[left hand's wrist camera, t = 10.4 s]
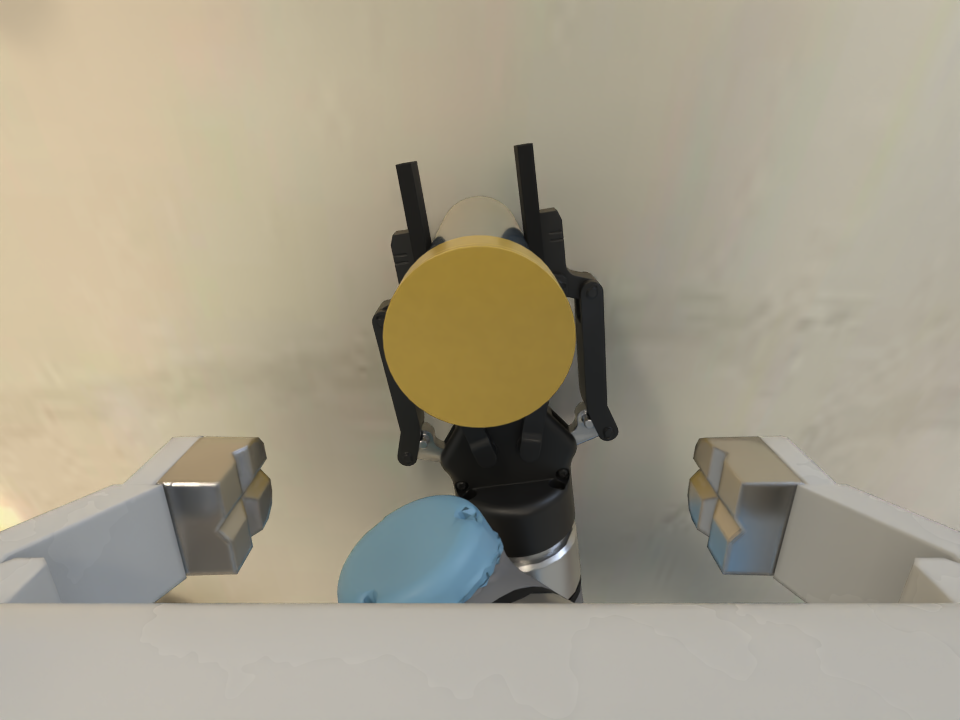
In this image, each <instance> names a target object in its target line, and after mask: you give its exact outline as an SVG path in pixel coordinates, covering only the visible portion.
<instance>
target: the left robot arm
mask: <svg viewBox="0 0 960 720" xmlns="http://www.w3.org/2000/svg"><path fill="white" fill-rule="evenodd" d="M266 459H267V457H266V452H265V448H264V443H263V442H262V441H261V440H260V439H259V437H210V436H207V437H204V436H180V437H172V438H171V439H170V440H169V441H168V442H167V443H166V444H165V445H164V446H163V447H162V448H161V449H160V450H159V451H157V452H156V453H155V454H154V455H153V456H152V457H151V458H150V459H149V460H148V461H147V462H146V463H145V464H144V465H143V466H141V467H140V468H139V469H138V470H137V471H136V472H135V473H134V474H133V475H132V476H131V477H130V478H129V479H128V480H126V481H125V482H124V483H123V484H122V485H111V486H108V487H106V488H104V489H101V490H99V491H96V492H94V493H92V494H89V495H87V496H84V497H82V498H80V499H77V500H75V501H72V502H70V503H68V504H65V505H63V506H60V507H58V508H56V509H53V510H51V511H48V512H46V513H44V514H41V515H39V516H36V517H34V518H32V519H29V520H27V521H24V522H22V523H20V524H17V525H15V526H12V527H10V528H8V529H5V530H3V531H0V720H960V532H959V531H957V530H954V529H952V528H950V527H947V526H945V525H942V524H940V523H938V522H935V521H933V520H931V519H928V518H926V517H923V516H921V515H919V514H916V513H914V512H911V511H909V510H907V509H904V508H902V507H899V506H897V505H895V504H892V503H890V502H887V501H885V500H883V499H880V498H878V497H875V496H873V495H871V494H868V493H866V492H863V491H861V490H859V489H856V488H854V487H852V486H849V485H838V484H837V483H836V482H835V481H834V480H833V479H831V478H830V477H829V476H828V475H827V474H826V473H825V472H824V471H823V470H822V469H821V468H820V467H819V466H818V465H817V464H815V463H814V462H813V461H812V460H811V459H810V458H809V457H808V456H807V455H806V454H805V453H804V452H803V451H802V450H801V449H799V448H798V447H797V446H796V445H795V444H794V443H793V442H792V441H791V440H790V439H789V438H786V437H783V436H763V437H758V436H757V437H716V438H700V439H699V440H698V442H697V444H696V446H695V452H694V457H693V459H694V461H695V462H696V464H697V465H698V467H699V468H700V469H699V470H698V471H697V472H696V473H695V474H694V475H693V476H692V477H691V478H690V480H689V488H688V505H689V511H690V514H691V518H692V520H693V522H694V524H695V526H696V528H697V530H699V531H701V532H702V533H704V534H705V535H707V536H708V537H709V540H708V545H707V547H708V549H709V551H710V553H711V554H712V556H713V558H714V560H715V561H716V563H717V565H718V566H719V568H720V570H721V572H722V573H723V574H733V575H770V576H774V577H773V578H774V579H775V580H777V581H778V582H779V583H781V584H782V585H783V586H785V587H786V588H787V589H789V590H790V591H791V592H793V593H794V594H795V595H797V596H798V597H799V598H801V599H802V600H803V601H804V602H806V603H154V602H156V601H157V600H158V599H160V598H161V597H162V596H164V595H165V594H166V593H168V592H169V591H170V590H172V589H173V588H174V587H175V586H177V585H178V584H179V583H181V582H182V581H183V580H185V579H186V578H187V577H186V576H190V575H226V574H237V573H238V572H239V570H240V568H241V567H242V565H243V563H244V561H245V560H246V558H247V556H248V554H249V553H250V551H251V549H252V547H253V545H252V540H251V537H252V536H253V535H255V534H256V533H258V532H259V531H261V530H263V528H264V526H265V524H266V522H267V520H268V518H269V514H270V510H271V506H272V487H271V480H270V478H269V477H268V476H267V475H266V474H265V473H264V472H263V471H262V470H261V469H260V468H261V467H262V465H263V464H264V462H265V461H266Z"/></svg>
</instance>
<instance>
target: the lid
mask: <svg viewBox="0 0 960 720" xmlns="http://www.w3.org/2000/svg"><path fill="white" fill-rule="evenodd" d="M575 344H576V329H575V322H574V317H573V313H572V310H571V307H570V304H569V301H568V300H567V298H566V296H565V294H564V292H563V290H562V288H561V287H560V285H559V283H558V281H557V279H556V278H555V276H554V275H553V273H552V272H551V270H550V269H549V268H548V266H547V265H546V264H545V263H544V262H543V261H542V260H541V259H540V258H539V257H538V256H536V255H535V254H534V253H533V252H531V251H530V250H528V249H527V248H525V247H523V246H522V245H520V244H517V243H515V242H513V241H510V240H507V239H503V238H500V237H495V236H488V235H472V236H464V237H459V238H455V239H451V240H449V241H446V242H444V243H441V244H439V245H437V246H436V247H434V248H432V249H430V250H429V251H428V252H426V253H425V254H424V255H422V256H421V257H420V258H419V259H418V260H417V261H416V262H415V263H414V264H413V265H412V266H411V267H410V269H409V270H408V272H407V273H406V274H405V276H404V278H403V279H402V281H401V283H400V285H399V286H398V288H397V290H396V292H395V293H394V295H393V297H392V299H391V301H390V304H389V306H388V309H387V312H386V316H385V320H384V326H383V348H384V353H385V358H386V361H387V364H388V367H389V370H390V372H391V374H392V376H393V378H394V380H395V382H396V383H397V385H398V386H399V387H400V389H401V390H402V392H403V393H404V394H405V395H406V396H407V397H408V398H409V399H410V400H411V401H412V402H413V403H414V404H415V405H416V406H418V407H419V408H420V409H422V410H423V411H425V412H426V413H428V414H430V415H431V416H433V417H435V418H437V419H440V420H442V421H445V422H448V423H451V424H455V425H459V426H465V427H476V428H485V427H494V426H500V425H504V424H508V423H511V422H514V421H517V420H519V419H521V418H523V417H525V416H527V415H529V414H531V413H532V412H534V411H536V410H537V409H539V408H540V407H541V406H542V405H543V404H545V403H546V402H547V401H548V400H549V399H550V398H551V397H552V396H553V395H554V394H555V393H556V391H557V390H558V389H559V387H560V386H561V384H562V383H563V381H564V379H565V377H566V376H567V374H568V372H569V369H570V366H571V364H572V361H573V356H574V352H575Z"/></svg>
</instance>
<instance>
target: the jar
mask: <svg viewBox="0 0 960 720" xmlns="http://www.w3.org/2000/svg"><path fill="white" fill-rule="evenodd" d="M472 235H488V236H495V237H500V238H503V239H507V240H510V241H513V242H515V243H517V244H520V245H522V246H523V247H525V248H527V249H528V250H530V248H529V246H528V244H527V242H526V240H525V238H524V236H523V234H522V232H521V229H520V227H519V225H518V223H517V221H516V219H515V217H514V215H513V214H512V212H511V211H510V210H509V209H508V208H507V207H506V206H505V205H504V204H503V203H501V202H499V201H498V200H496V199H493V198H490V197H485V196H474V197H469V198H466V199H463V200H461V201H460V202H458V203H456V204H455V205H454V206H453V207H452V208H451V209H450V210H449V211H448V212H447V214H446V215H445V217H444V219H443V221H442V223H441V225H440V227H439V229H438V231H437V234H436V236H435V238H434V240H433V242H432V244H431V246H430V248H429V250H430V249H432V248H434V247H436V246H437V245H439V244H441V243H444V242H446V241H449V240H451V239H455V238H459V237H464V236H472ZM429 250H428V251H429ZM530 251H531V250H530Z"/></svg>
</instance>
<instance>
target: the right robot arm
mask: <svg viewBox="0 0 960 720" xmlns="http://www.w3.org/2000/svg"><path fill="white" fill-rule="evenodd" d="M514 152H515V161H516V170H517V179H518V187H519V196H520V205H521V214H522V222H523V231H524V238H525V240H526V242H527V244H528V246H529V248H530V250H531V252H533V253H534V254H535V255H536V256H538V257H539V258H540V259H541V260H542V261H543V262H544V263H545V264H546V265H547V266H548V268H549V269H550V270H551V272H552V273H553V275H554V276H555V278H556V279H557V281H558V283H559V285H560V287H561V288H562V290H563V292H564V294H565V296H566V297H571V298H574V302H575V320H576V338H577V356H578V374H579V387H580V393H581V396H582V399H583V402H580V403H579V404H578V406H577V407H576V408H575V420H574V422H573V423H572V424H570V425H568V424H567V423H565V422H564V421H563V420H562V419H561V418H560V417H559V416H558V415H557V414H556V413H555V412H554V411H553V410H552V409H551V408H550V407H549V406H548V403H549V400H548V401H547V402H546V403H545V404H543V405H542V406H541V407H540V408H539V409H537V410H536V411H534V412H532V413H531V414H529V415H527V416H525V417H523V418H521V419H519V420H517V421H514V422H511V423H508V424H504V425H500V426H494V427H485V428H476V427H465V426H459V425H455V424H454V425H453V427H452V428H451V430H450V432H449V434H448V435H447V437H446V439H445V441H441V440H439V439H438V438H437V437H436V435H435V430H434V428H433V427H432V426H431V425H430V424H429V423H427V422H425V423H424V411H423V410H422V409H420V408H419V407H418V406H416V405H415V404H414V403H413V402H412V401H411V400H410V399H409V398H408V397H407V396H406V395H405V394H404V393H403V392H402V390H401V389H400V387H399V386H398V385H397V383H396V382H395V380H394V378H393V376H392V374H391V372H390V370H389V367H388V364H387V361H386V358H385V353H384V348H383V326H384V320H385V316H386V312H387V309H388V306H389V304H390V301H391V299H390V300H386V301H384V302H383V303H382V304H381V305H380V307H379V308H378V310H377V312H376V313H375V315H374V317H373V319H372V324H373V328H374V332H375V335H376V339H377V343H378V347H379V351H380V355H381V358H382V362H383V366H384V370H385V374H386V377H387V381H388V385H389V389H390V393H391V397H392V400H393V404H394V408H395V412H396V416H397V419H398V423H399V427H400V431H401V435H400V442H399V449H398V461H399V462H400V463H401V464H402V465H405V466H411V465H413V464H414V463H416V461H417V459H424V460H430V461H437V462H441V465H442V467H443V469H444V470H445V471H446V472H447V473H448V474H449V475H450V477H451V478H452V480H453V484H454V488H455V493H456V496H452V495H436V496H430V497H426V498H422V499H419V500H416V501H413V502H411V503H409V504H407V505H404V506H403V507H401V508H399V509H397V510H395V511H394V512H392V513H390V514H389V515H387V516H386V517H385V518H384V519H383V520H382V521H381V522H380V523H378V524H377V525H376V526H375V527H374V528H372V529H371V530H370V531H368V532H367V533H366V534H365V535H364V536H363V537H362V538H361V540H360V541H359V542H358V543H357V544H356V546H355V547H354V549H353V550H352V551H351V553H350V555H349V556H348V558H347V560H346V562H345V564H344V566H343V568H342V571H341V574H340V577H339V582H338V590H337V594H338V603H583V596H582V589H581V574H580V573H581V567H580V558H579V548H578V539H577V530H576V523H575V521H574V519H575V509H574V499H573V489H572V479H571V468H570V466H571V461H572V458H573V456H574V455H575V453H576V449H577V445H578V444H581V443H583V442H586V441H588V440H590V439H593V438H595V437H597V436H599V437H600V438H601V439H602V440H604V441H610V440H613V439H614V438H616V436H617V435H618V428H617V426H616V423H615V421H614V419H613V417H612V415H611V413H610V411H609V408H608V406H607V386H606V357H605V329H604V300H603V289H602V286H601V285H600V284H599V283H598V281H597V280H596V279H595V278H594V277H593V276H592V275H591V274H590V273H588V272H577V271H572V270H569V269H568V268H566V262H565V250H564V240H563V228H562V219H561V217H560V215H559V213H558V211H557V210H556V209H555V208H547V209H541V210H539V202H538V192H537V182H536V173H535V163H534V153H533V143H528V144H521V145H515V146H514ZM396 169H397V175H398V180H399V185H400V190H401V195H402V200H403V206H404V211H405V216H406V221H407V226H408V230H401V231H396V232H395V233H394V234H393V236H392V242H391V248H392V253H393V258H394V262H395V267H396V272H397V277H398V282H399V285H400V283H401V281H402V279H403V278H404V276H405V274H406V273H407V272H408V270H409V269H410V267H411V266H412V265H413V264H414V263H415V262H416V261H417V260H418V259H419V258H420V257H421V256H422V255H424V254H425V253H426V252H428V250H429V248H430V246H431V244H432V243H431V237H430V232H429V226H428V221H427V215H426V210H425V204H424V199H423V193H422V187H421V182H420V176H419V171H418V165H417V161H414V162H408V163H402V164H398V165H396Z"/></svg>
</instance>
